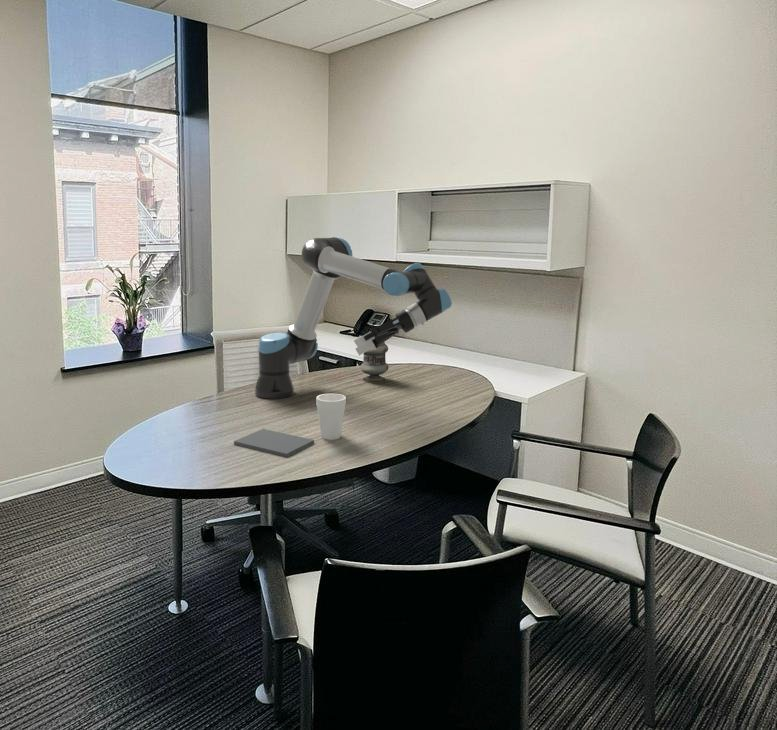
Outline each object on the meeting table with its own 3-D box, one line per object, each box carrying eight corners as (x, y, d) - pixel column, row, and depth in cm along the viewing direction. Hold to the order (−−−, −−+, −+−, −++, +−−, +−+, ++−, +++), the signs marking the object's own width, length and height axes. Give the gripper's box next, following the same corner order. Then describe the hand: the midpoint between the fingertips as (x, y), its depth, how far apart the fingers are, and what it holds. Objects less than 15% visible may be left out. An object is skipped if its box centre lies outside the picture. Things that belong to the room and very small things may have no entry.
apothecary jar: (355, 378, 280) (356, 337, 276) (380, 375, 286) (381, 336, 282) (367, 384, 270) (368, 342, 266) (392, 382, 275) (393, 341, 271)
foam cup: (345, 441, 201) (345, 401, 199) (315, 441, 201) (315, 401, 198) (345, 431, 211) (345, 393, 208) (316, 431, 210) (316, 393, 207)
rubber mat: (234, 444, 196) (233, 441, 196) (263, 431, 208) (263, 428, 208) (286, 456, 187) (286, 453, 187) (314, 442, 199) (314, 439, 199)
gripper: (417, 318, 209) (361, 350, 207) (413, 335, 233) (362, 364, 231) (405, 299, 210) (349, 330, 208) (403, 318, 234) (352, 346, 232)
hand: (356, 348), depth 219 cm, fingers open, 13 cm apart
